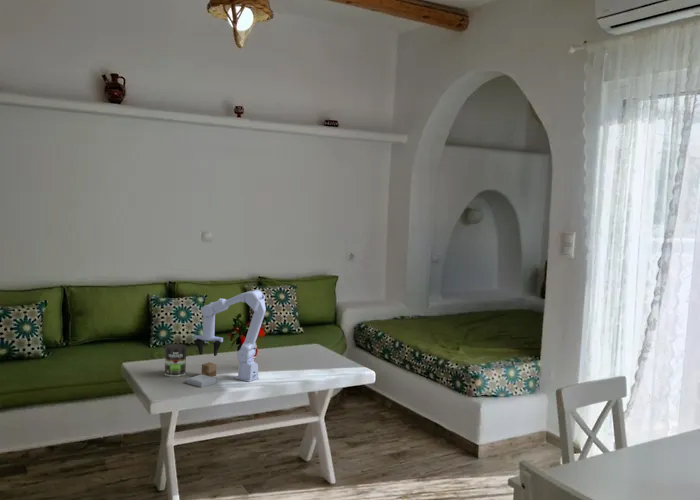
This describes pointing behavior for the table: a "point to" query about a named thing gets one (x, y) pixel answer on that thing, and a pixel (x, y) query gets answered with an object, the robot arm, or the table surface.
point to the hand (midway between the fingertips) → (208, 354)
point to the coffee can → (175, 360)
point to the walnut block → (209, 369)
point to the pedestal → (201, 380)
